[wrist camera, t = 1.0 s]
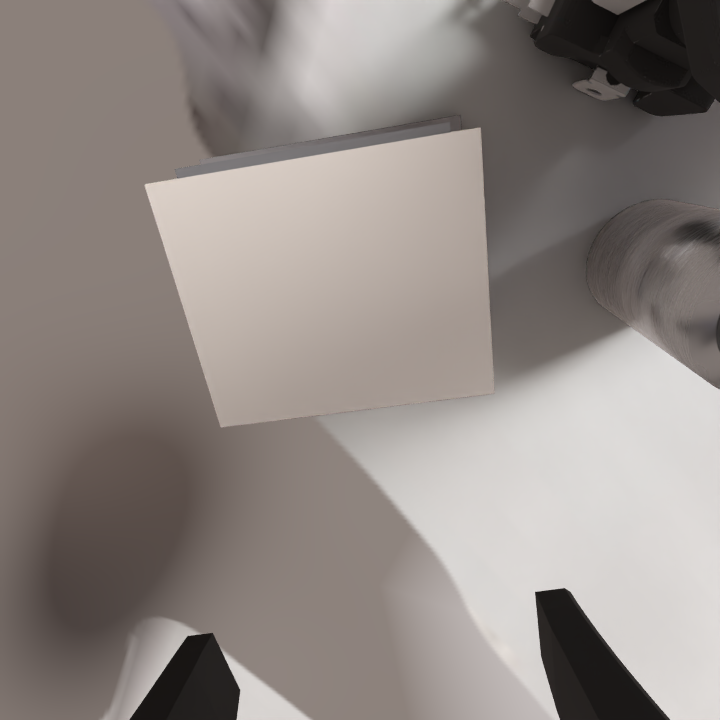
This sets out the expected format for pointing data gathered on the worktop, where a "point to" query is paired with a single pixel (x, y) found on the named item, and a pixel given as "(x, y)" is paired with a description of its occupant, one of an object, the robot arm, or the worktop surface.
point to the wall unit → (334, 271)
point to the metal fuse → (664, 278)
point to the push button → (636, 48)
